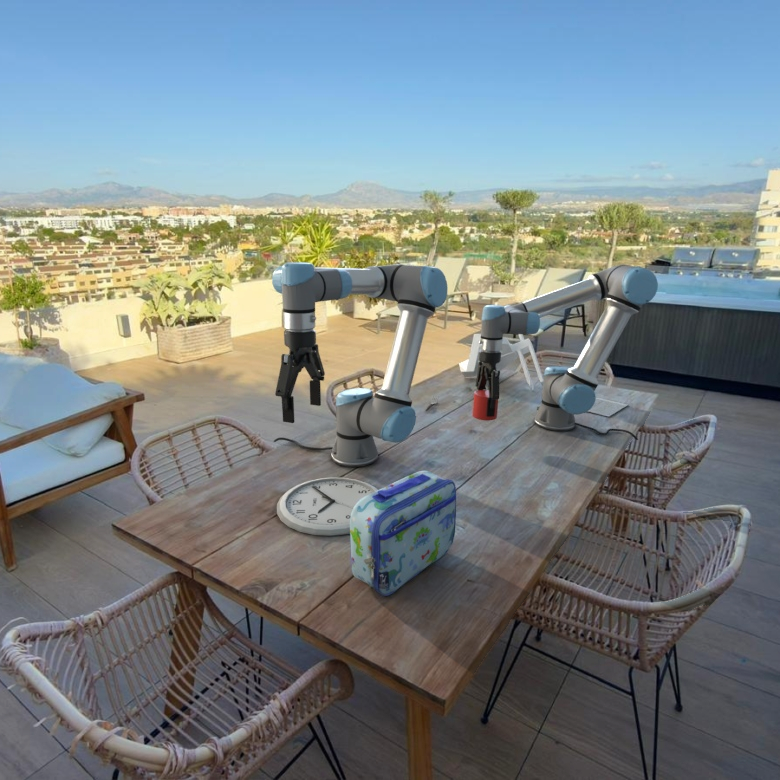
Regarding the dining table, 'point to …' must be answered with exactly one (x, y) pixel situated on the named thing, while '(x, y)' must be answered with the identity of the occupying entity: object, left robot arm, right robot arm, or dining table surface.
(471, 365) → the white plastic object
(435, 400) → the fork
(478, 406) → the canister
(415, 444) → the dining table surface
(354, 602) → the dining table surface
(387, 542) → the lunch box
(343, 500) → the wall clock
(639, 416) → the dining table surface
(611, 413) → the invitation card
